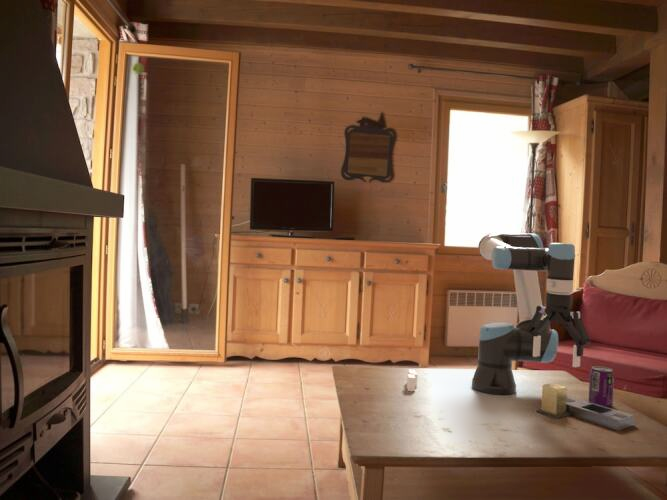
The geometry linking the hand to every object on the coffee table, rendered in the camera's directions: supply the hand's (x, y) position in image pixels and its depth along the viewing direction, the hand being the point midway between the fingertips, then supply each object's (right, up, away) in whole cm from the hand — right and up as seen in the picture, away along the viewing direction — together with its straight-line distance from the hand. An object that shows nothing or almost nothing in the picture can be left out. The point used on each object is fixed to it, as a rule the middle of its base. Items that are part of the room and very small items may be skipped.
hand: (555, 361), depth 162 cm
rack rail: (+10, -17, -1) cm, 19 cm away
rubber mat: (-1, -16, 0) cm, 16 cm away
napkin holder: (-42, -15, +23) cm, 50 cm away
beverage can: (+20, -17, +11) cm, 28 cm away
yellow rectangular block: (-1, -16, 0) cm, 16 cm away
